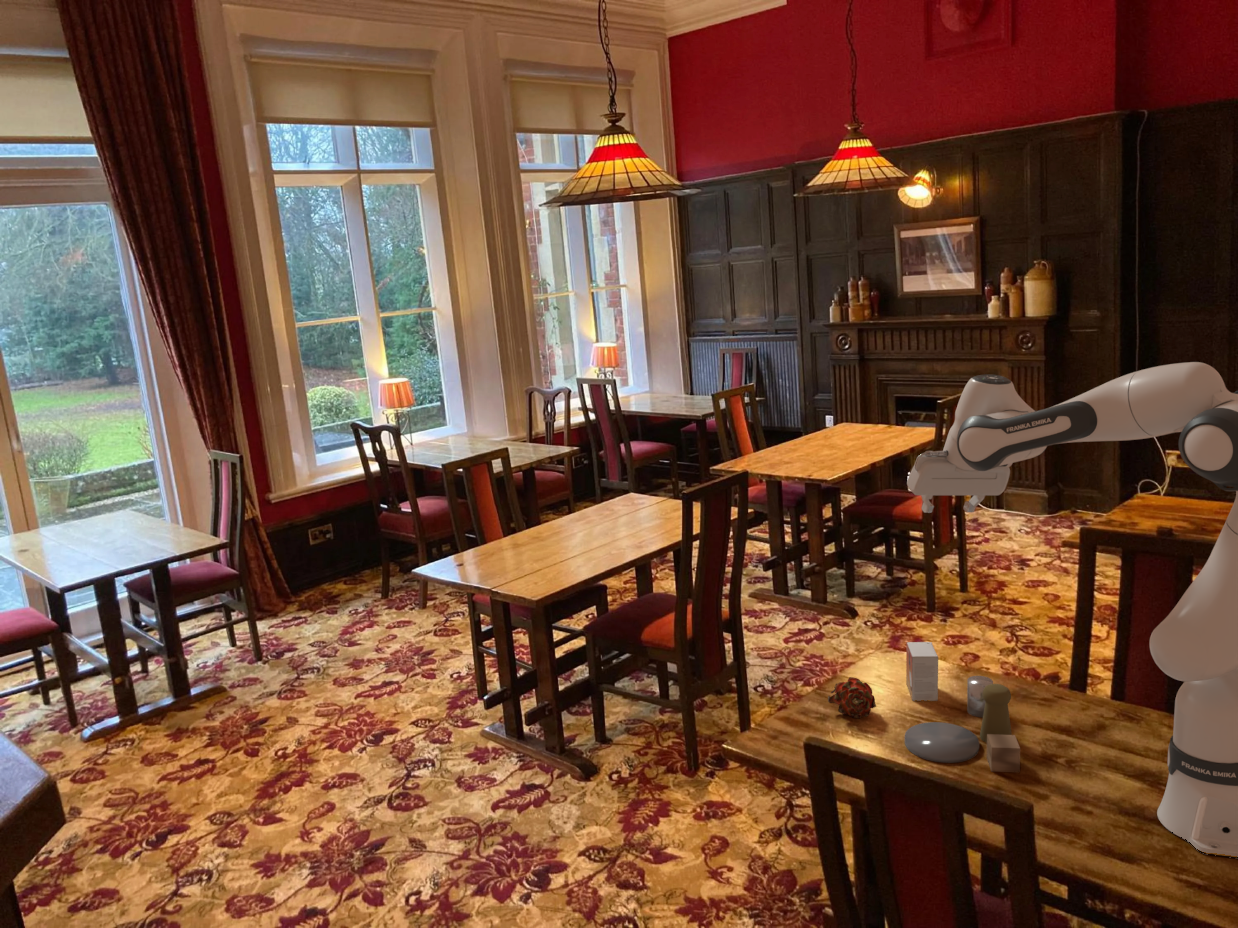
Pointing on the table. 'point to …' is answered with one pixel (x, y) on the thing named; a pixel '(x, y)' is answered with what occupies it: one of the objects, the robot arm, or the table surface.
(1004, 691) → the cork
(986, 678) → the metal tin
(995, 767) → the light brown cube
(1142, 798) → the table surface
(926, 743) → the smooth pebble
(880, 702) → the table surface
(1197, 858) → the table surface
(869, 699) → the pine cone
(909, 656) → the small box
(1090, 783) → the table surface
